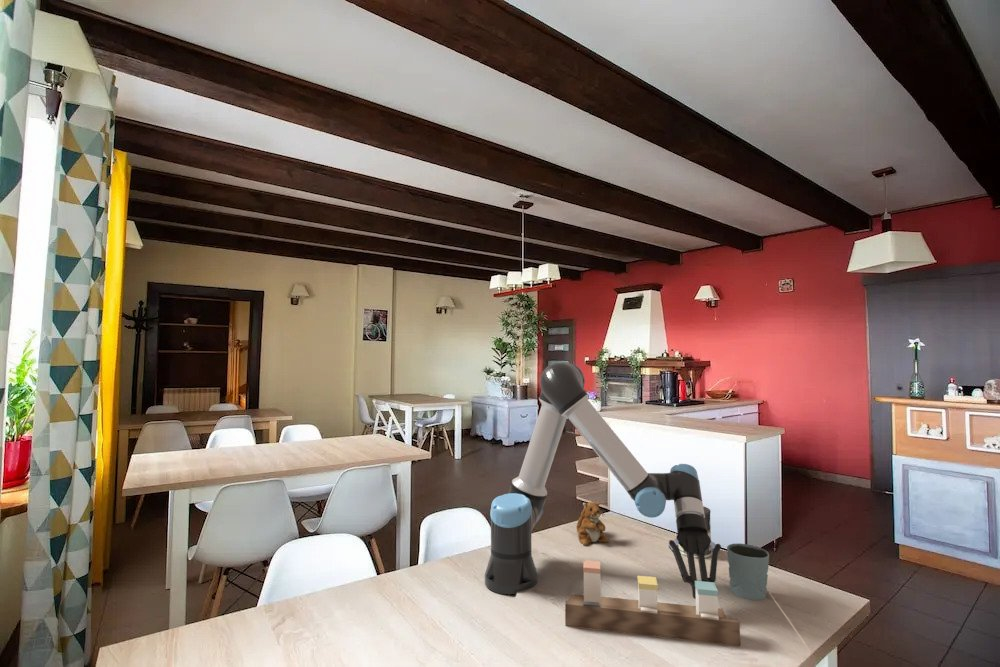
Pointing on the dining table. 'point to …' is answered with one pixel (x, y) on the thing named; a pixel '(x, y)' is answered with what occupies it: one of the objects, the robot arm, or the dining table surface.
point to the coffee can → (707, 518)
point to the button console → (652, 620)
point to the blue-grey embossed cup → (748, 570)
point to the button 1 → (591, 581)
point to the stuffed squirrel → (590, 524)
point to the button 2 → (706, 598)
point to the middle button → (647, 592)
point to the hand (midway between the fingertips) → (703, 613)
